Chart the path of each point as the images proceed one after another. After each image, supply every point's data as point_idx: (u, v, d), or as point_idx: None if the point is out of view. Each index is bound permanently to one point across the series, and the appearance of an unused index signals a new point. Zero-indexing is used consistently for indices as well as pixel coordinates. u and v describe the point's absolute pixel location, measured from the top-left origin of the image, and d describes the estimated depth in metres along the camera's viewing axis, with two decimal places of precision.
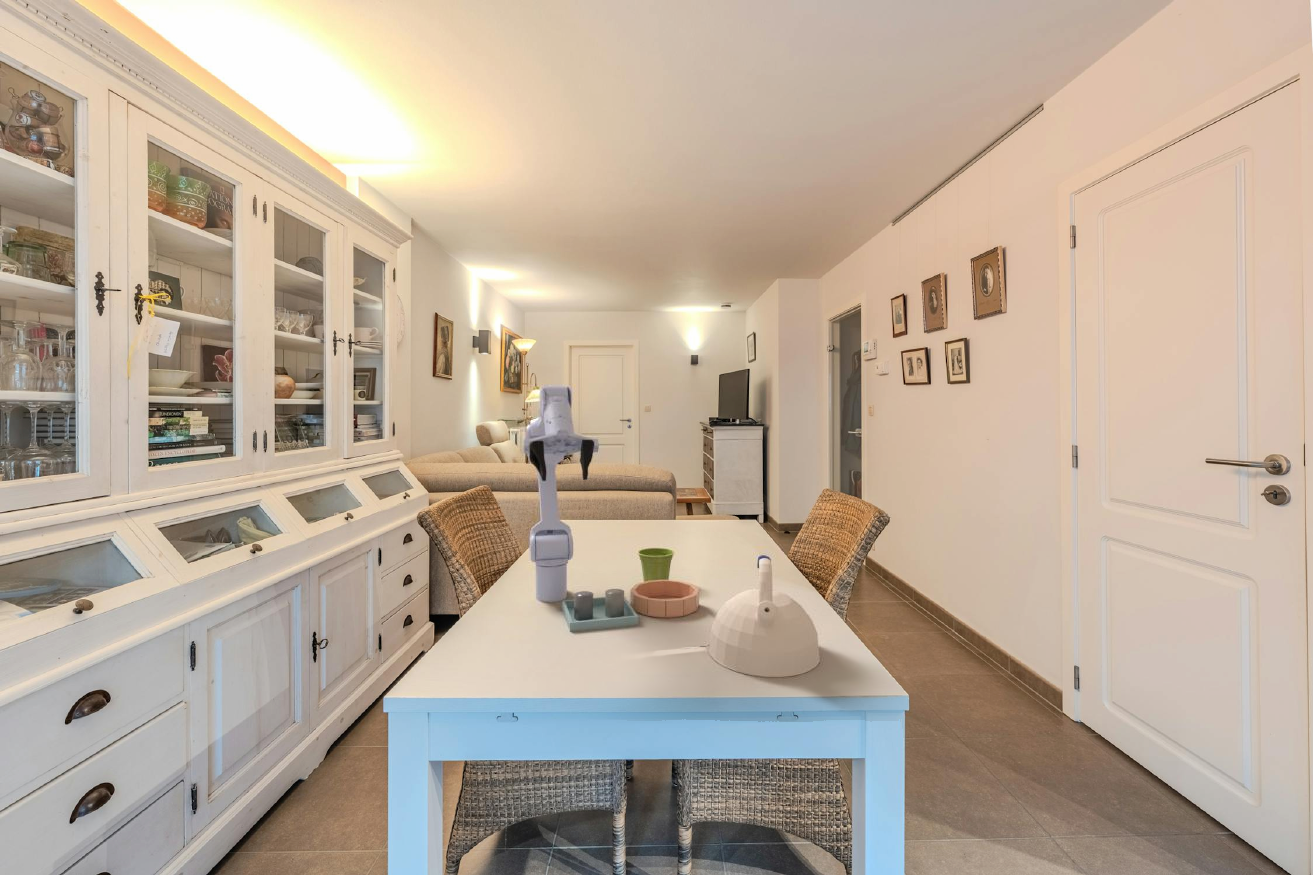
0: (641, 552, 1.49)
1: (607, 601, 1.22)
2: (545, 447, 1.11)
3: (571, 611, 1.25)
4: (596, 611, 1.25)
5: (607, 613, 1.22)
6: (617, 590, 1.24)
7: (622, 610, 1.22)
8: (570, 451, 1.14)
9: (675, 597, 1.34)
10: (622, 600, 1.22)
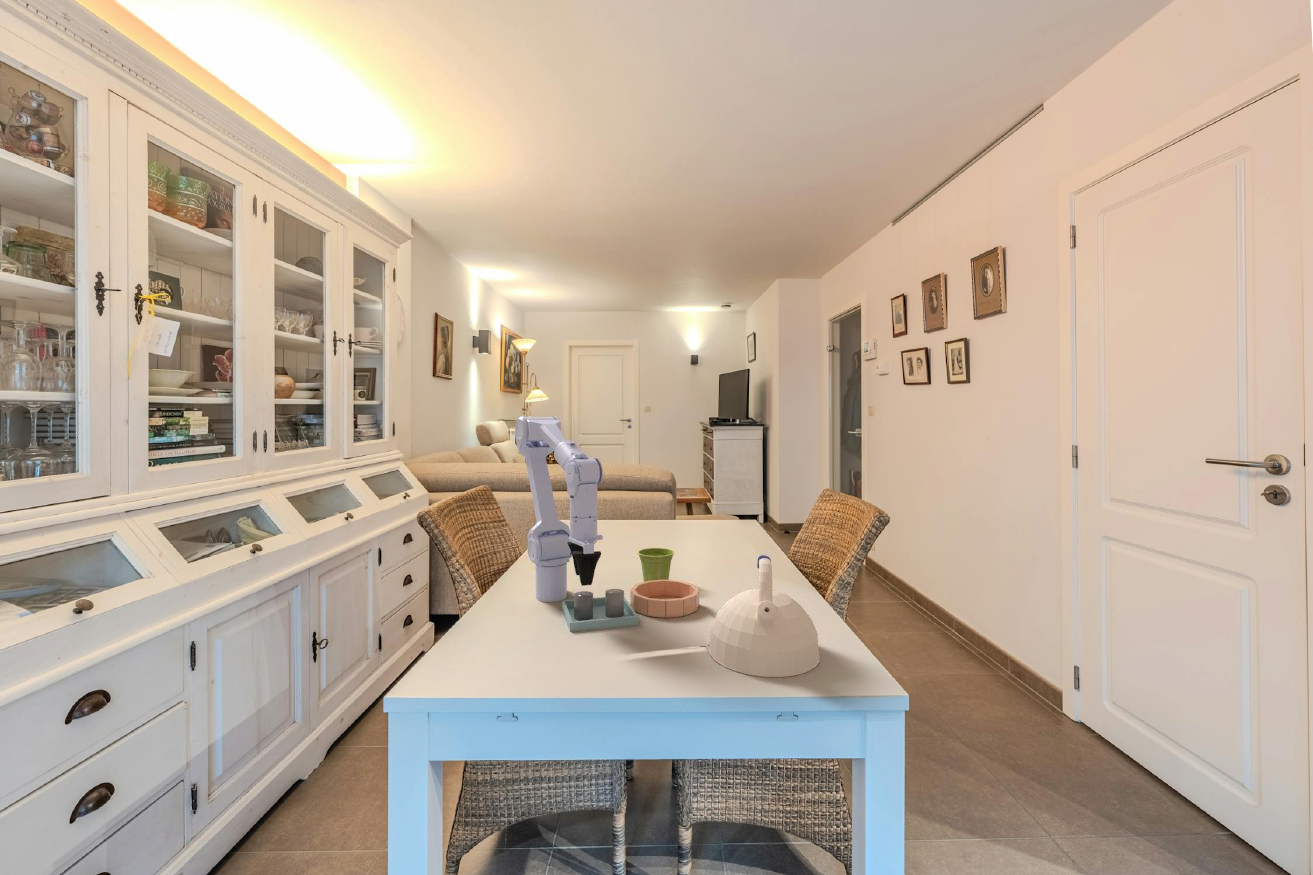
0: (641, 552, 1.49)
1: (607, 601, 1.22)
2: None
3: (571, 611, 1.25)
4: (596, 611, 1.25)
5: (607, 613, 1.22)
6: (617, 590, 1.24)
7: (622, 610, 1.22)
8: None
9: (675, 597, 1.34)
10: (622, 600, 1.22)
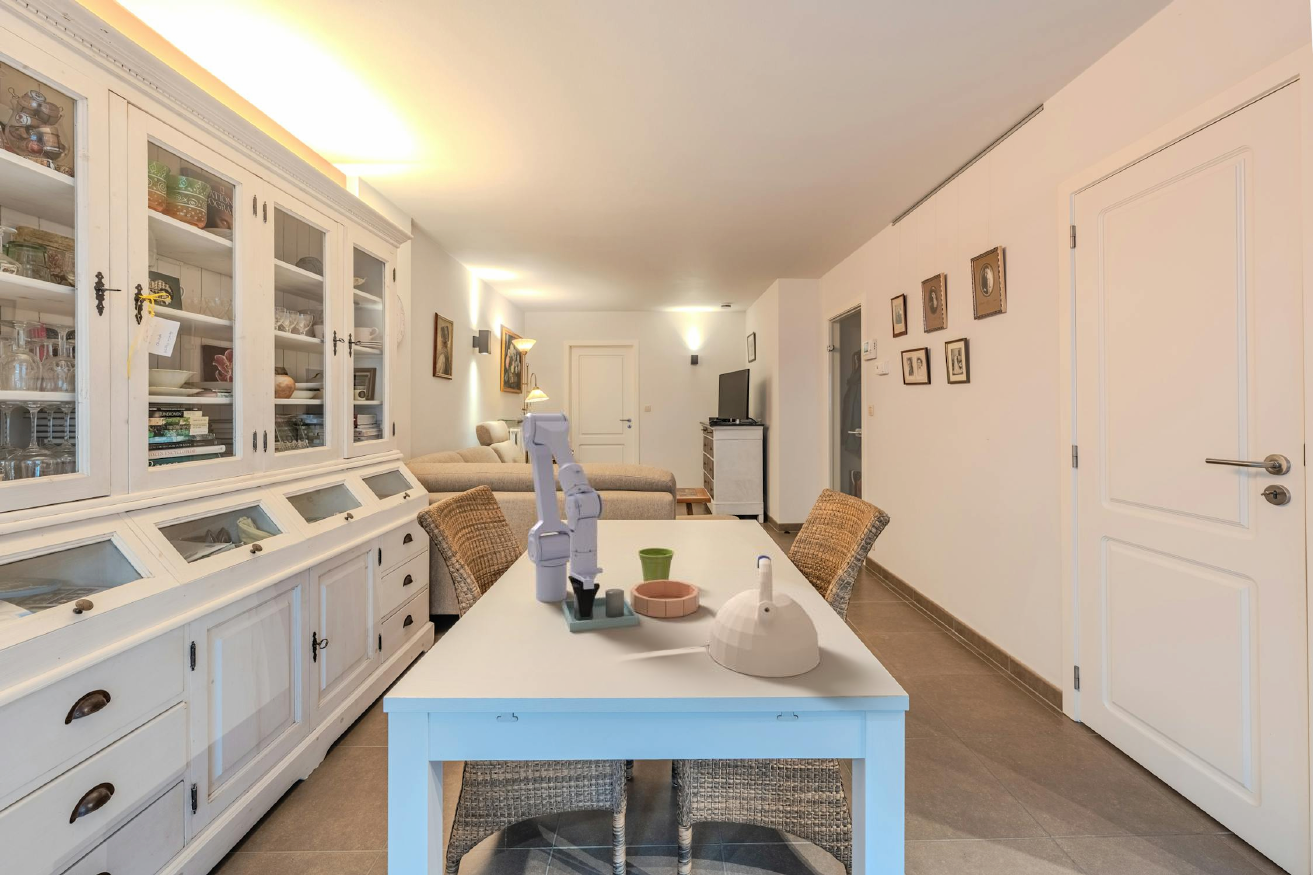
0: (641, 552, 1.49)
1: (607, 601, 1.22)
2: None
3: (571, 611, 1.25)
4: (596, 611, 1.25)
5: (607, 613, 1.22)
6: (617, 590, 1.24)
7: (622, 610, 1.22)
8: None
9: (675, 597, 1.34)
10: (622, 600, 1.22)
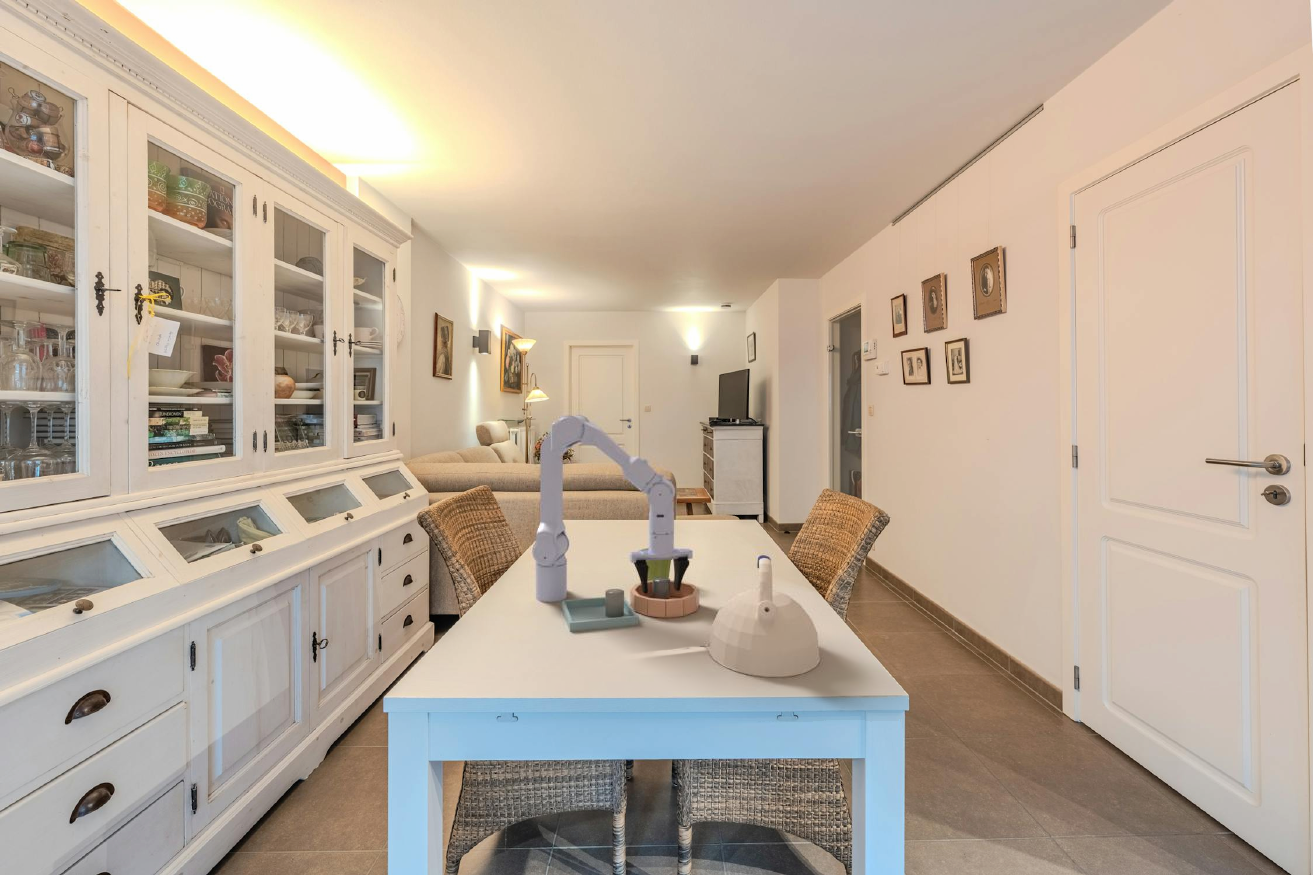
0: None
1: (607, 601, 1.22)
2: None
3: (571, 611, 1.25)
4: (596, 611, 1.25)
5: (607, 613, 1.22)
6: (617, 590, 1.24)
7: (622, 610, 1.22)
8: None
9: (675, 597, 1.34)
10: (622, 600, 1.22)
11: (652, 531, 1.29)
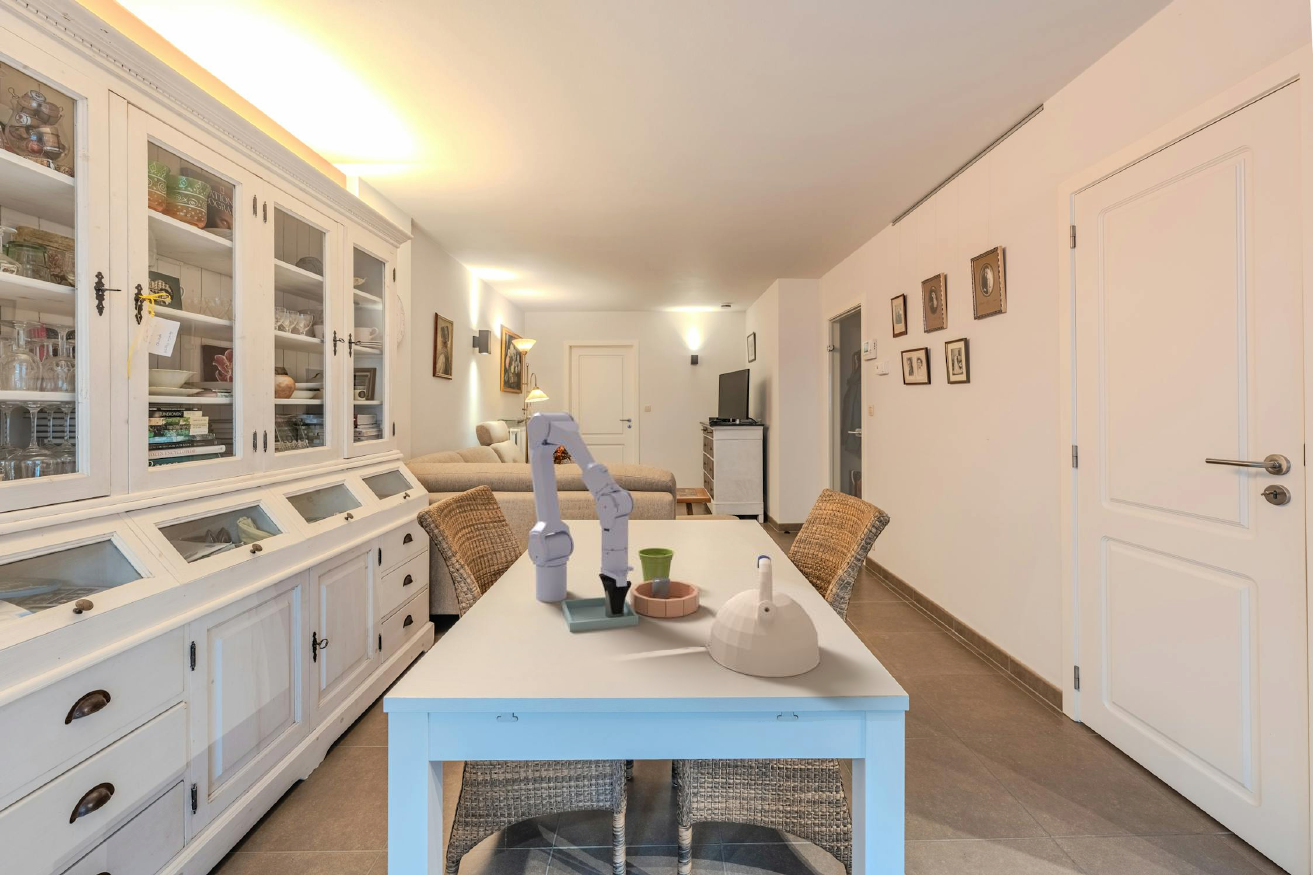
0: (641, 552, 1.49)
1: (607, 601, 1.22)
2: None
3: (571, 611, 1.25)
4: (596, 611, 1.25)
5: (607, 613, 1.22)
6: None
7: None
8: None
9: (675, 597, 1.34)
10: None
11: None
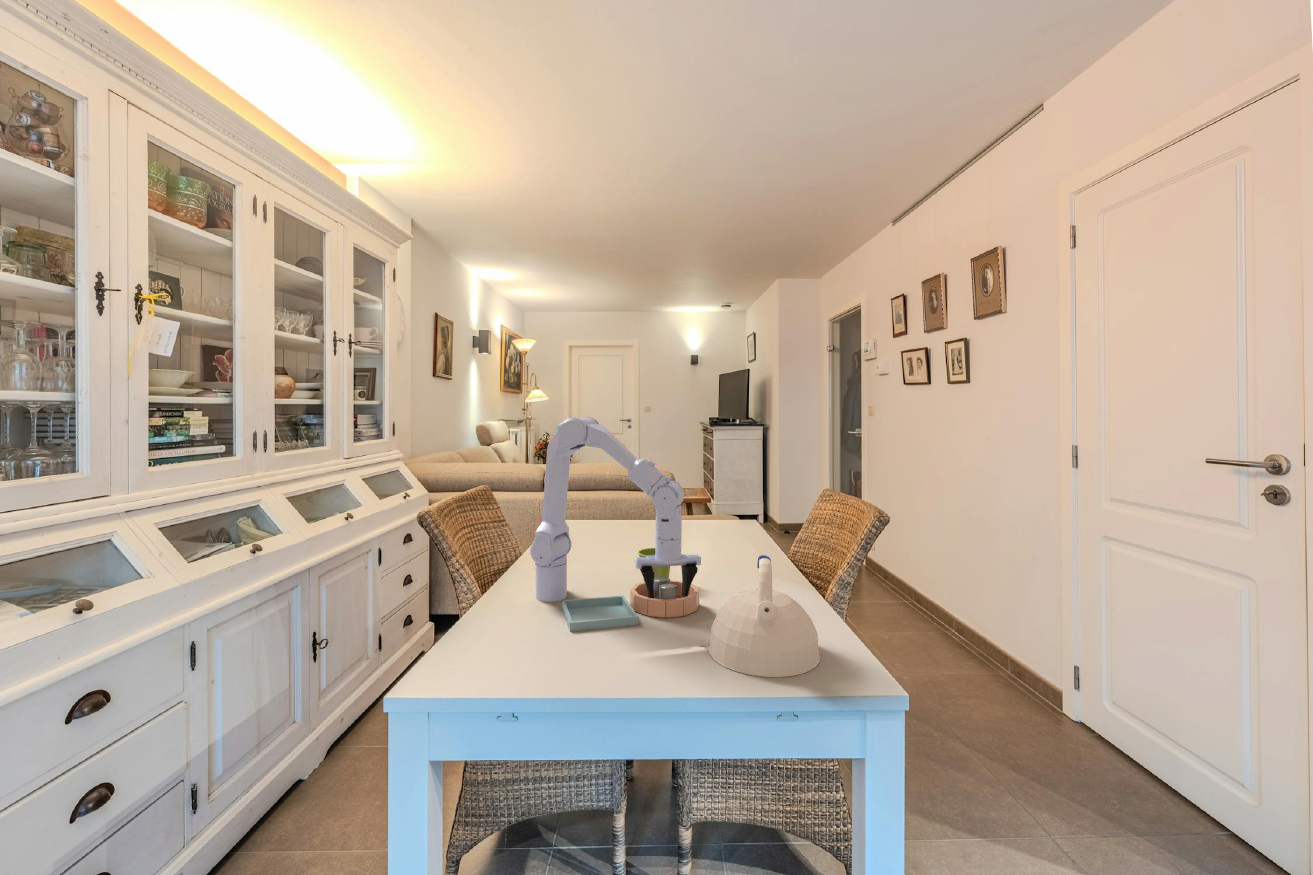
0: (641, 552, 1.49)
1: (674, 596, 1.25)
2: None
3: (571, 611, 1.25)
4: (596, 611, 1.25)
5: None
6: (664, 585, 1.27)
7: None
8: None
9: None
10: None
11: (657, 536, 1.24)
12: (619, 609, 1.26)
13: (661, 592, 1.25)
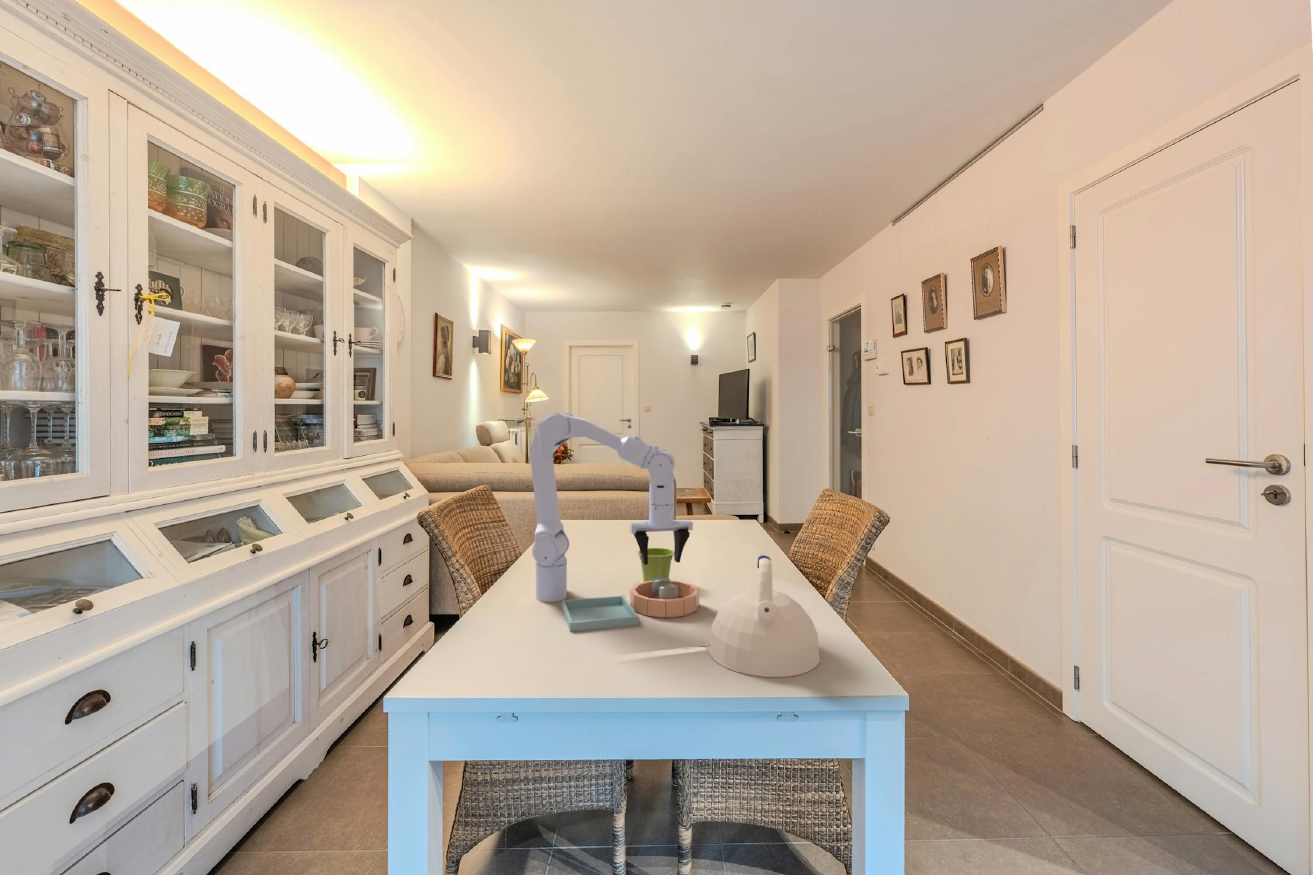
0: None
1: (674, 596, 1.25)
2: None
3: (571, 611, 1.25)
4: (596, 611, 1.25)
5: None
6: (664, 585, 1.27)
7: None
8: None
9: None
10: None
11: (652, 502, 1.29)
12: (619, 609, 1.26)
13: (661, 592, 1.25)
